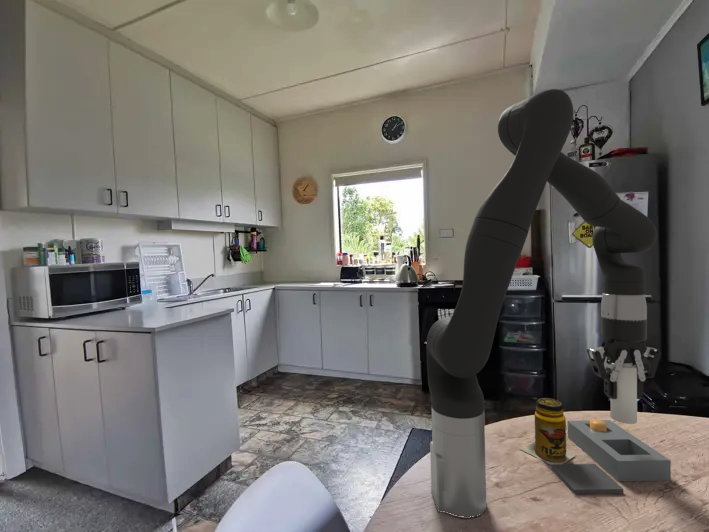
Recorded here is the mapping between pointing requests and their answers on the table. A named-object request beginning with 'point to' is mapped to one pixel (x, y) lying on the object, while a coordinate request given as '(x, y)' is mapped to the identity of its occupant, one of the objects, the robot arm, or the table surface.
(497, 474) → the table surface
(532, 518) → the table surface
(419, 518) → the table surface
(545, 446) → the condiment
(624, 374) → the cylinder
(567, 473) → the mat
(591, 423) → the plunger
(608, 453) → the block
